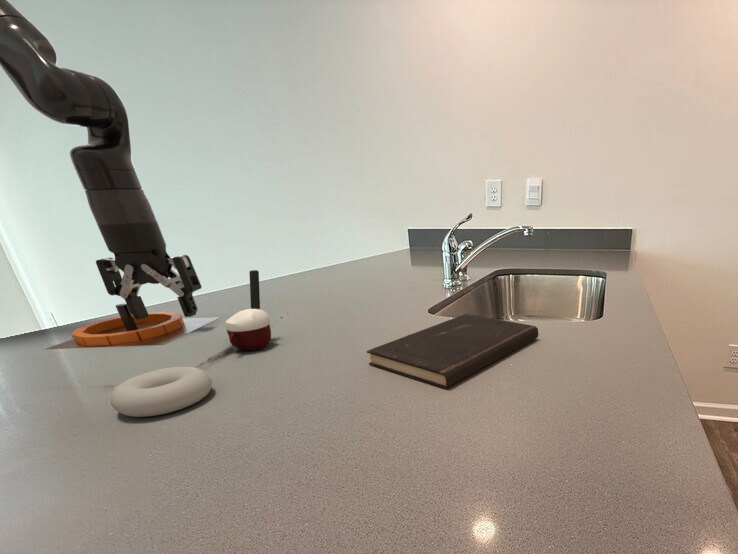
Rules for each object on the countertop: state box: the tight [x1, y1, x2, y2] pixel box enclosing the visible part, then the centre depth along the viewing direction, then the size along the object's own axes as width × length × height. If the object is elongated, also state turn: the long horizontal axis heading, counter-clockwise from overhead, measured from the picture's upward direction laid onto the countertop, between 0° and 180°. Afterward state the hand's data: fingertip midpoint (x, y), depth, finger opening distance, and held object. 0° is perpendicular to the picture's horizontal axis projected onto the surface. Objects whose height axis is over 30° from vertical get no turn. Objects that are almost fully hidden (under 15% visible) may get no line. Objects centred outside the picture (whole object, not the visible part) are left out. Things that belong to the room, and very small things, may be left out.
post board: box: [45, 303, 222, 350], centre depth 73 cm, size 19×16×6 cm
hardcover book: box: [366, 313, 539, 389], centre depth 65 cm, size 16×23×2 cm
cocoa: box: [224, 269, 272, 352], centre depth 67 cm, size 10×6×12 cm, turn 153°
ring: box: [70, 311, 184, 346], centre depth 74 cm, size 15×15×2 cm
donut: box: [110, 366, 213, 418], centre depth 51 cm, size 10×4×10 cm
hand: (166, 316), depth 73 cm, fingers open, 8 cm apart
